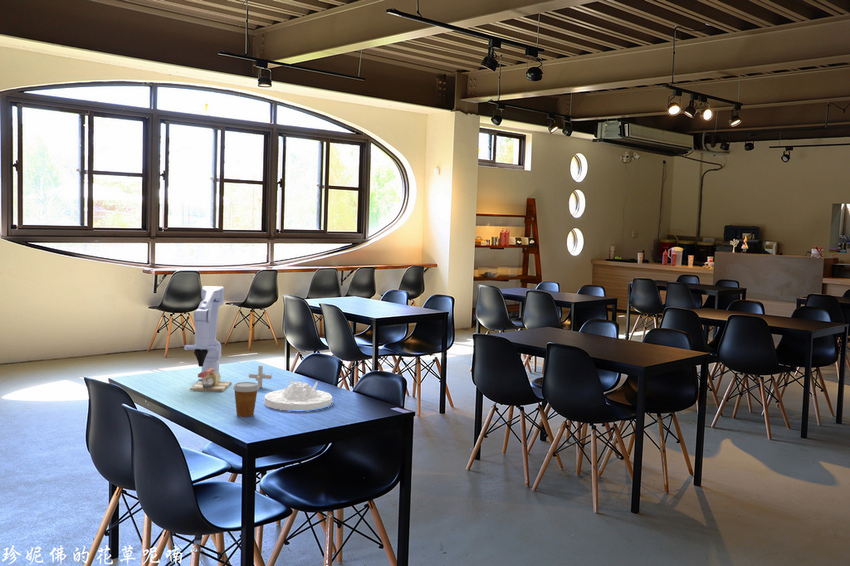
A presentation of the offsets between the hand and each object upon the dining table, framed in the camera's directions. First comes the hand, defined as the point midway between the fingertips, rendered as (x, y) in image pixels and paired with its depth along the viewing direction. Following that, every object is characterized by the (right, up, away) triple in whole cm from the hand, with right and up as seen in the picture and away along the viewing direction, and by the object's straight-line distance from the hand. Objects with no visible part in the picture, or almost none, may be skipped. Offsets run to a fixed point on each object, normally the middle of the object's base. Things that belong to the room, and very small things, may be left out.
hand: (201, 366), depth 315 cm
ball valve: (+4, -10, +2) cm, 11 cm away
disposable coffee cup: (+30, -14, -42) cm, 54 cm away
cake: (+47, -14, -20) cm, 53 cm away
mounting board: (+4, -10, +2) cm, 11 cm away
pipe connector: (+25, -11, +7) cm, 28 cm away
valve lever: (+4, -3, -4) cm, 7 cm away
